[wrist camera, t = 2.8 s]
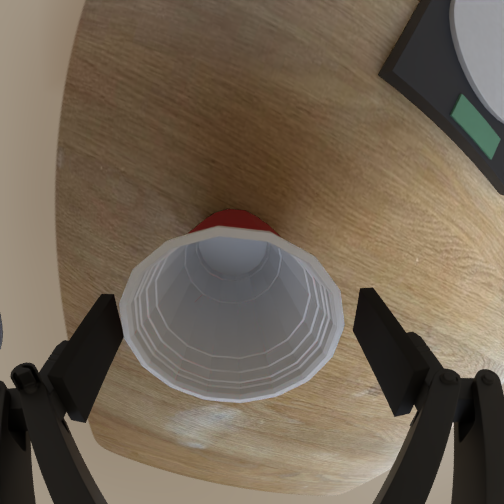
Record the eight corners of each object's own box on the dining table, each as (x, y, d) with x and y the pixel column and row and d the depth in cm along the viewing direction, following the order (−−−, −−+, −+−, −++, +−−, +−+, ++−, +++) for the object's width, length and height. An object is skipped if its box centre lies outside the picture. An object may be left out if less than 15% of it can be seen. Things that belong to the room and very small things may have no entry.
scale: (377, 75, 20) (396, 69, 17) (447, -49, 14) (464, -59, 11) (499, 194, 24) (520, 202, 21) (546, 65, 18) (565, 66, 15)
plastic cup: (153, 285, 26) (109, 384, 15) (184, 160, 22) (136, 193, 11) (272, 317, 28) (292, 424, 17) (319, 204, 24) (385, 269, 13)
